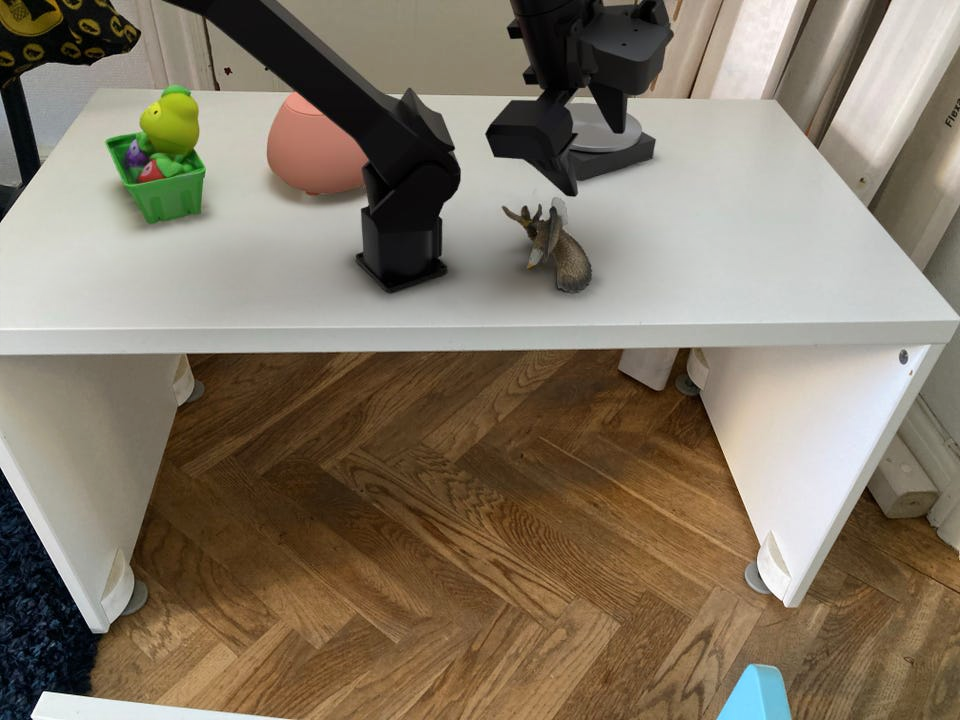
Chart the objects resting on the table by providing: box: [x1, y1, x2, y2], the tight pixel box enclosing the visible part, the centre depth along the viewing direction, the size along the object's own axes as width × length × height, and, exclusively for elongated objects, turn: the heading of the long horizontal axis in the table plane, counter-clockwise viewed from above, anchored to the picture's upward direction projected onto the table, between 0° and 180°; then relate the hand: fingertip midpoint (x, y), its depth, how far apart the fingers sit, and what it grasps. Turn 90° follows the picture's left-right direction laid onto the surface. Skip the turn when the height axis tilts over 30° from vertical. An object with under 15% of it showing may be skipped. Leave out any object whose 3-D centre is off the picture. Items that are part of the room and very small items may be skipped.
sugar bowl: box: [266, 89, 369, 197], centre depth 87 cm, size 12×14×10 cm
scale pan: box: [567, 102, 643, 152], centre depth 95 cm, size 12×12×1 cm
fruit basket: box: [104, 84, 207, 225], centre depth 81 cm, size 11×9×11 cm
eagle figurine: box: [501, 196, 593, 294], centre depth 76 cm, size 8×7×9 cm
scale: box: [569, 131, 657, 181], centre depth 96 cm, size 11×11×2 cm
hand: (596, 163), depth 74 cm, fingers open, 9 cm apart
